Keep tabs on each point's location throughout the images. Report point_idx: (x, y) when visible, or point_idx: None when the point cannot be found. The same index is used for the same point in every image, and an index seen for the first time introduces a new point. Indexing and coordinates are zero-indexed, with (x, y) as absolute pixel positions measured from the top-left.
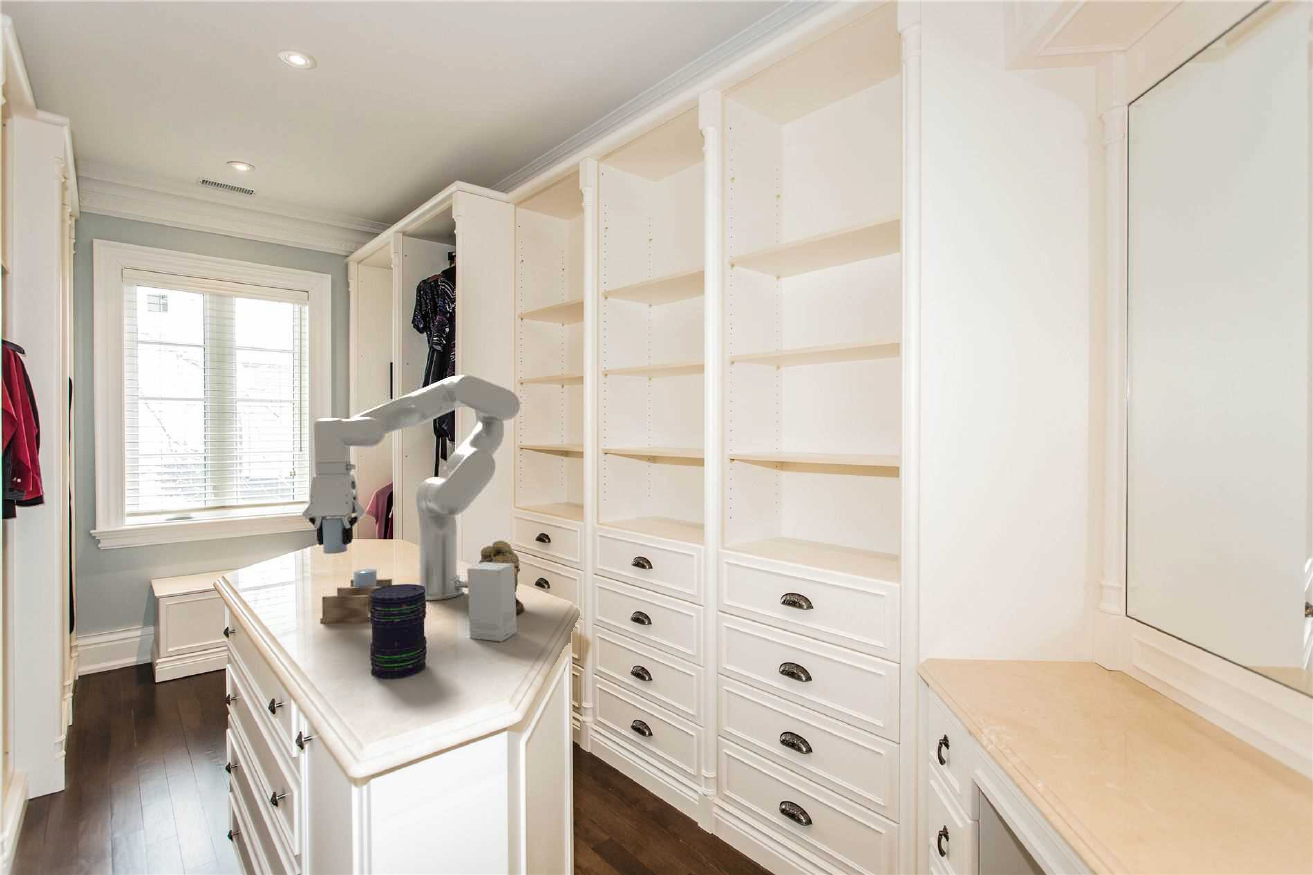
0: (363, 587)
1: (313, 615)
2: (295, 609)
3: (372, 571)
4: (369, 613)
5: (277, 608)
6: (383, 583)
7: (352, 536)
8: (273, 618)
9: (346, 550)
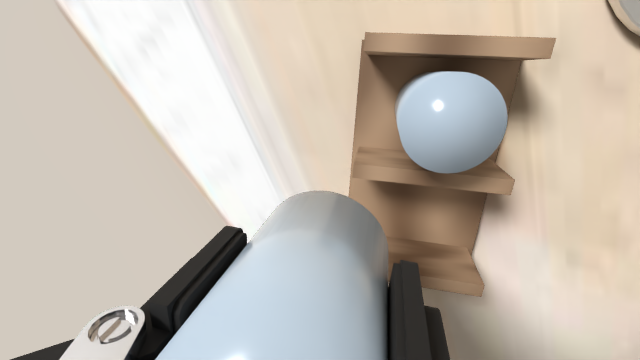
0: (447, 183)
1: (304, 169)
2: (232, 104)
3: (488, 130)
4: (464, 220)
5: (181, 88)
6: (507, 57)
7: (439, 326)
8: (221, 179)
9: (388, 258)
